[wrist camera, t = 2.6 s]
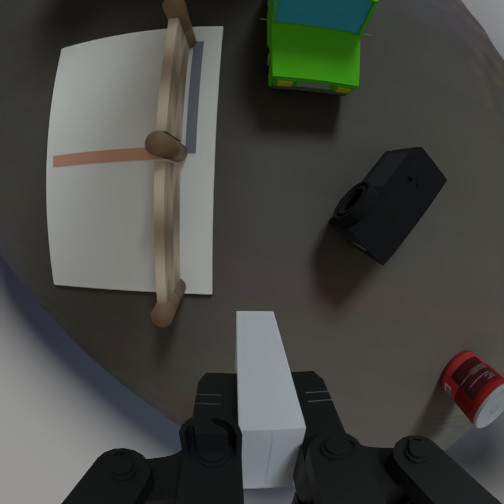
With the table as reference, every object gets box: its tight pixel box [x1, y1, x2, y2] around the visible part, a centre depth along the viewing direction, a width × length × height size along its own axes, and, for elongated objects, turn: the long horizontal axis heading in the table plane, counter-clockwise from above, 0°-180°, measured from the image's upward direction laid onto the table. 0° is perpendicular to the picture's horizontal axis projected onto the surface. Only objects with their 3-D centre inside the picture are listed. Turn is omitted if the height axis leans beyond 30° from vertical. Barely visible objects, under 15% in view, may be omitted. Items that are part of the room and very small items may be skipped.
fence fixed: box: [145, 0, 196, 162], centre depth 22 cm, size 14×2×8 cm, turn 178°
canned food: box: [441, 351, 504, 428], centre depth 31 cm, size 8×8×11 cm
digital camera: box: [329, 147, 447, 265], centre depth 26 cm, size 10×5×7 cm, turn 140°
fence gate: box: [150, 161, 186, 327], centre depth 25 cm, size 13×2×7 cm, turn 178°
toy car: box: [260, 0, 378, 96], centre depth 20 cm, size 10×13×10 cm
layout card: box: [46, 26, 223, 294], centre depth 27 cm, size 28×19×1 cm
